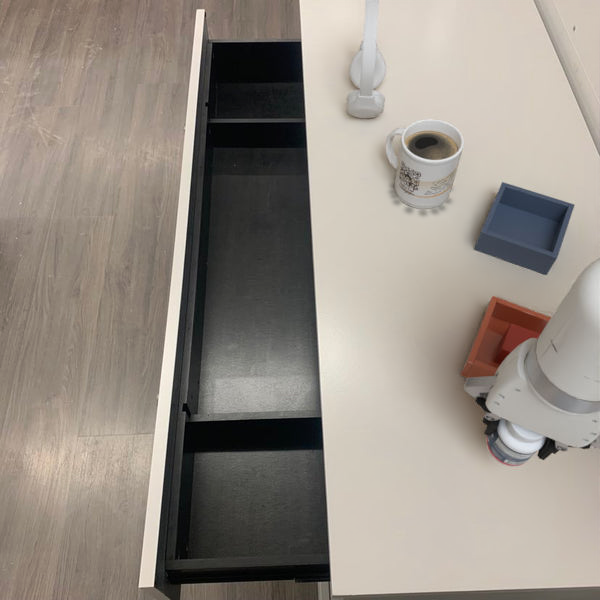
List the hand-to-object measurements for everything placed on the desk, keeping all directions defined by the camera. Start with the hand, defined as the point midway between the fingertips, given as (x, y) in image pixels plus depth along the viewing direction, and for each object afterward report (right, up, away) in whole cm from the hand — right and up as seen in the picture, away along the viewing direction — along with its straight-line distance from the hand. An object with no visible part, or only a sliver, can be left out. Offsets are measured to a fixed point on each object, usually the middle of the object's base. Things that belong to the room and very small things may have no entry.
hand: (517, 434), depth 60 cm
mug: (-4, +36, +34) cm, 50 cm away
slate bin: (+11, +26, +27) cm, 39 cm away
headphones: (-11, +55, +46) cm, 72 cm away
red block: (+6, +7, +15) cm, 18 cm away
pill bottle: (0, -2, +3) cm, 4 cm away
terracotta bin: (+6, +7, +16) cm, 18 cm away
